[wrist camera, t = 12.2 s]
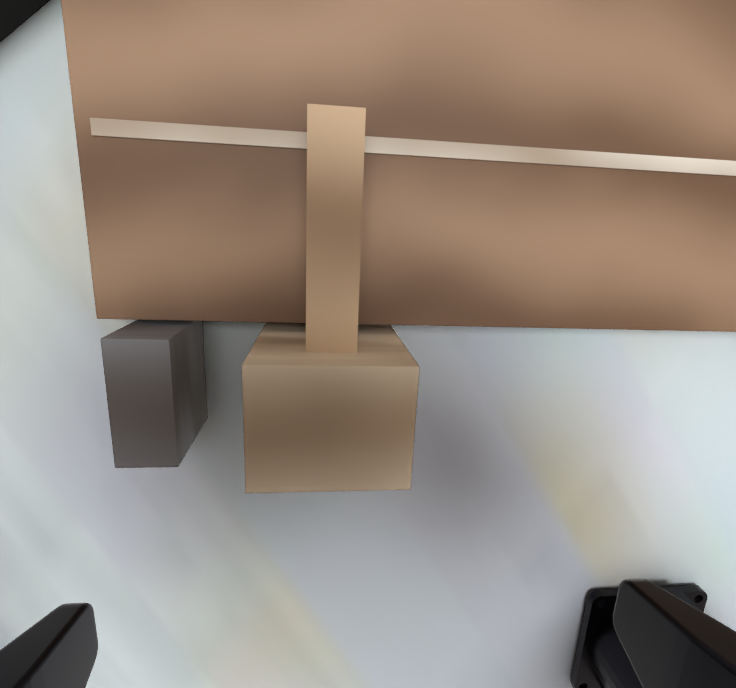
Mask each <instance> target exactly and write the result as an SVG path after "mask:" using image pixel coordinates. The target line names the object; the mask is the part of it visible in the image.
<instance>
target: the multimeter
mask: <svg viewBox="0 0 736 688" xmlns="http://www.w3.org/2000/svg"><path fill="white" fill-rule="evenodd" d="M48 1H50V0H0V42H1V41H2V40H3V39H5V38H6V37H7V36H8V35H9V34H11V33H12V32H13V31H14V30H15V29H16V28H18V27H19V26H20V25H21V24H22V23H24V22H25V21H26V20H27V19H28V18H30V17H31V16H32V15H33V14H34V13H35V12H37V11H38V10H39V9H40V8H41V7H43V6H44V5H45V4H46V3H47V2H48Z"/></svg>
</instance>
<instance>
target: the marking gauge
mask: <svg viewBox="0 0 736 688" xmlns="http://www.w3.org/2000/svg"><path fill="white" fill-rule="evenodd" d="M365 121H366V108H361V107H348V106H334V105H320V104H307V219H306V323H287V322H266V324H265V326H264V327H263V329H262V331H261V333H260V334H259V336H258V338H257V340H256V341H255V343H254V345H253V346H252V348H251V350H250V352H249V353H248V355H247V357H246V359H245V360H244V362H243V364H242V390H243V422H244V454H245V486H246V493H274V492H321V491H368V490H410V488H411V474H412V461H413V448H414V434H415V421H416V407H417V394H418V380H419V365H418V364H417V363H416V361H415V360H414V358H413V357H412V355H411V354H410V353H409V351H408V350H407V348H406V347H405V345H404V344H403V343H402V341H401V340H400V338H399V337H398V336H397V334H396V333H395V331H394V330H393V328H392V327H391V326H390V325H385V324H358V311H359V284H360V257H361V229H362V202H363V175H364V148H365Z"/></svg>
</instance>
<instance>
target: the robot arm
mask: <svg viewBox="0 0 736 688" xmlns="http://www.w3.org/2000/svg"><path fill="white" fill-rule="evenodd" d="M706 601H707V594H706V593H705V592H704V591H703V590H702V589H701V588H700V587H699V586H696V585H689V586H669V587H659V586H657V585H656V584H654V583H652V582H650V581H648V580H646V579H627V580H623V581H622V582H621V584H620V586H619V589H607V590H595V591H593V592H591V593H590V594H589V596H588V598H587V602H586V607H585V612H584V617H583V622H582V627H581V632H580V637H579V642H578V647H577V652H576V657H575V662H574V666H573V671H572V676H571V684H572V686H573V688H736V631H734V630H732V629H730V628H729V627H727V626H725V625H724V624H722V623H720V622H719V621H717V620H715V619H713V618H712V617H710V616H708V615H707V614H705V613H703V611H704V608H705V604H706ZM97 650H98V639H97V632H96V625H95V618H94V611H93V607H92V606H91V604H89V603H70V604H63V605H61V606H59V607H57V608H56V609H55V610H53V611H52V612H51V613H49V614H48V615H47V616H45V617H44V618H43V619H41V620H40V621H39V622H37V623H36V624H35V625H33V626H32V627H31V628H29V629H28V630H27V631H25V632H24V633H23V634H21V635H20V636H19V637H17V638H16V639H15V640H13V641H12V642H11V643H9V644H8V645H7V646H5V647H4V648H2V649H1V650H0V688H85V687H86V684H87V681H88V679H89V676H90V673H91V671H92V668H93V665H94V662H95V659H96V656H97Z"/></svg>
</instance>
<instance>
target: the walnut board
mask: <svg viewBox="0 0 736 688" xmlns="http://www.w3.org/2000/svg"><path fill="white" fill-rule="evenodd" d="M61 5H62V14H63V22H64V31H65V40H66V49H67V58H68V67H69V76H70V84H71V93H72V102H73V111H74V120H75V129H76V138H77V146H78V155H79V164H80V173H81V182H82V191H83V200H84V208H85V217H86V226H87V235H88V244H89V253H90V261H91V270H92V279H93V288H94V297H95V306H96V315H97V319H139V320H137V321H135V322H133V323H131V324H129V325H127V326H125V327H123V328H121V329H119V330H117V331H115V332H113V333H111V334H109V335H107V336H105V337H103V338H101V347H102V356H103V365H104V374H105V383H106V392H107V401H108V410H109V418H110V427H111V436H112V445H113V454H114V463H115V468H142V467H178V466H179V465H180V463H181V461H182V459H183V458H184V456H185V454H186V453H187V451H188V449H189V448H190V446H191V444H192V443H193V441H194V439H195V438H196V436H197V434H198V433H199V431H200V429H201V428H202V426H203V424H204V423H205V421H206V419H207V400H206V381H205V362H204V342H203V323H202V321H239V322H287V323H306V219H307V104H320V105H334V106H348V107H361V108H366V121H365V148H364V175H363V202H362V229H361V257H360V284H359V311H358V324H385V325H434V326H482V327H531V328H580V329H629V330H678V331H726V332H736V0H61Z"/></svg>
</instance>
